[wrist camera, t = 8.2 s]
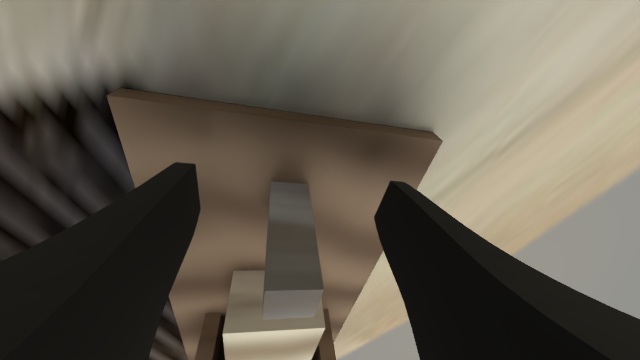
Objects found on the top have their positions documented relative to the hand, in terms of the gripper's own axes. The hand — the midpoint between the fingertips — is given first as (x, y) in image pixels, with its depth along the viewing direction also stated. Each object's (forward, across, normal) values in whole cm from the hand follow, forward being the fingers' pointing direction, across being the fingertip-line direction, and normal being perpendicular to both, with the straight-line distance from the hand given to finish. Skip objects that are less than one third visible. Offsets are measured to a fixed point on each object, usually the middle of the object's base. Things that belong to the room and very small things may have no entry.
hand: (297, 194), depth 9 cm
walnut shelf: (+4, 0, +12) cm, 13 cm away
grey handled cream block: (+3, 0, +9) cm, 9 cm away
